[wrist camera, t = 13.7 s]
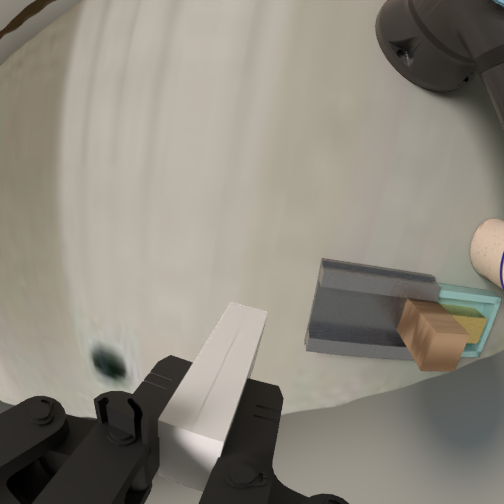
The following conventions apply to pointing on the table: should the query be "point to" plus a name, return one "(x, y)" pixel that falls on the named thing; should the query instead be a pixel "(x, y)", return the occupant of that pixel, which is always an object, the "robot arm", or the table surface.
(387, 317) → the slot board
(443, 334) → the block
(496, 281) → the teacup with lid
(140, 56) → the table surface
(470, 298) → the tray
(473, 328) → the yellow cube
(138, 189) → the table surface
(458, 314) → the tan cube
